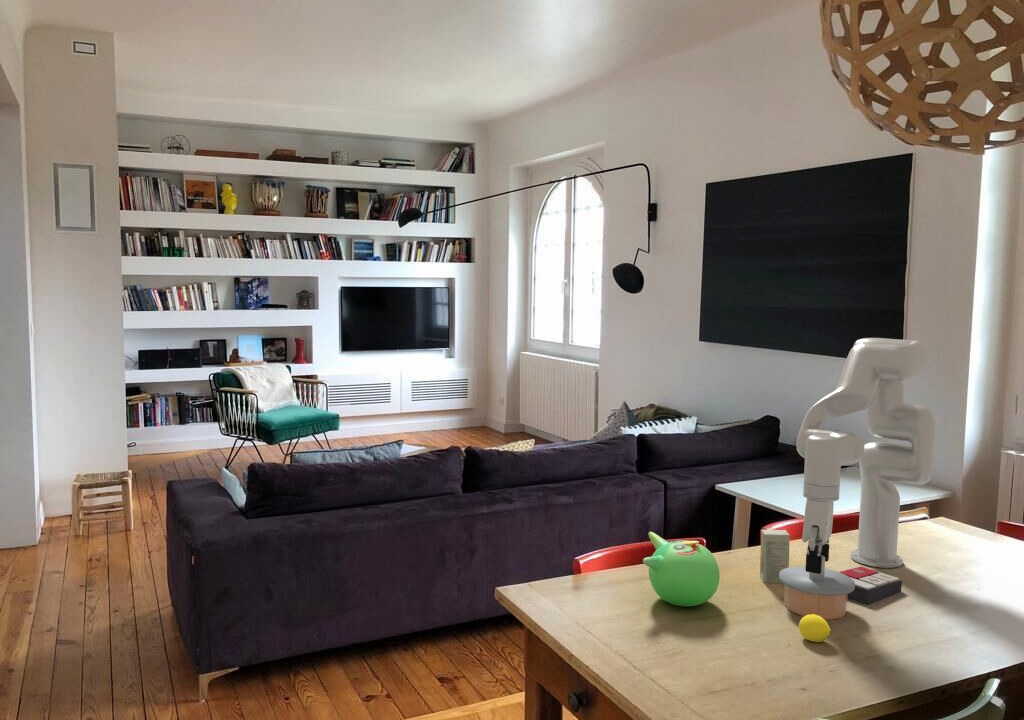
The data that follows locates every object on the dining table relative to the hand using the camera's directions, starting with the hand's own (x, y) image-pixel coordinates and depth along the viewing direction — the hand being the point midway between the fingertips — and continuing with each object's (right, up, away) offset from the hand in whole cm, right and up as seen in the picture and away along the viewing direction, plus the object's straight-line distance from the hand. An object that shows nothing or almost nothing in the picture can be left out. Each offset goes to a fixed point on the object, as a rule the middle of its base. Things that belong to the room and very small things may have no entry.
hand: (817, 566), depth 185 cm
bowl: (0, -10, +1) cm, 10 cm away
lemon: (-7, -11, -16) cm, 21 cm away
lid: (0, -4, 0) cm, 4 cm away
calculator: (+15, -10, +12) cm, 22 cm away
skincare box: (-4, -8, +18) cm, 20 cm away
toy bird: (-30, -9, +3) cm, 32 cm away
